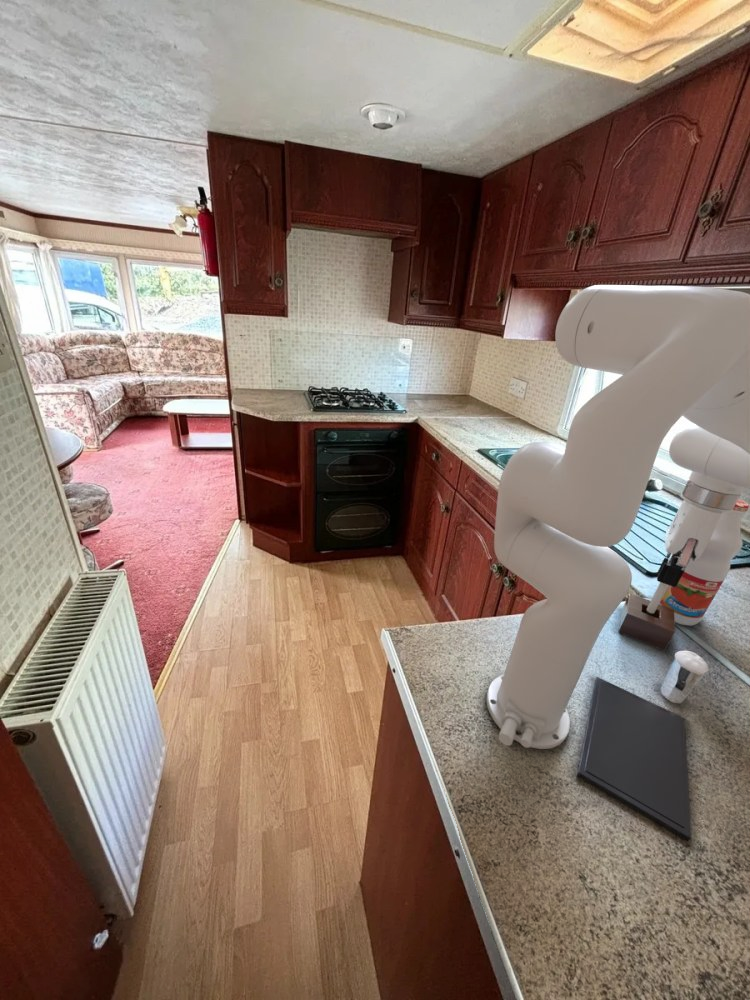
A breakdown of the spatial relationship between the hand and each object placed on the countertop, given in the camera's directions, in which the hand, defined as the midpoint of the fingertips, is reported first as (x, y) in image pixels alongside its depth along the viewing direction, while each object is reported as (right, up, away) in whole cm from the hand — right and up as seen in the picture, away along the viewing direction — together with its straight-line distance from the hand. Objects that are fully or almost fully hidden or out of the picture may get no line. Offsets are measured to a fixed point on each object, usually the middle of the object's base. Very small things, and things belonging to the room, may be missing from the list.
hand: (666, 580), depth 79 cm
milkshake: (-5, -19, -9) cm, 21 cm away
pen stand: (-1, -12, +6) cm, 13 cm away
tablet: (-18, -21, -18) cm, 33 cm away
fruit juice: (+11, -10, +12) cm, 19 cm away
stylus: (-1, -8, +4) cm, 9 cm away
